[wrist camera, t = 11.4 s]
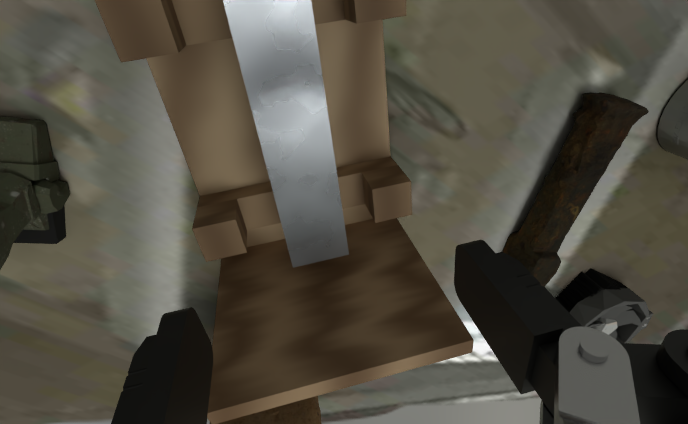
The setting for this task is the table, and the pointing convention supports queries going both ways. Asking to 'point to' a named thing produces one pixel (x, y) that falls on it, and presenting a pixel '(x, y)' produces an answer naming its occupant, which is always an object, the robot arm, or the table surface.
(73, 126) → the table surface
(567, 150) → the dark brown bar
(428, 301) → the post cradle
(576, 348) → the robot arm
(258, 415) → the brown rounded piece
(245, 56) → the rail
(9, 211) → the mechanical leg
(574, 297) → the cpu cooler
